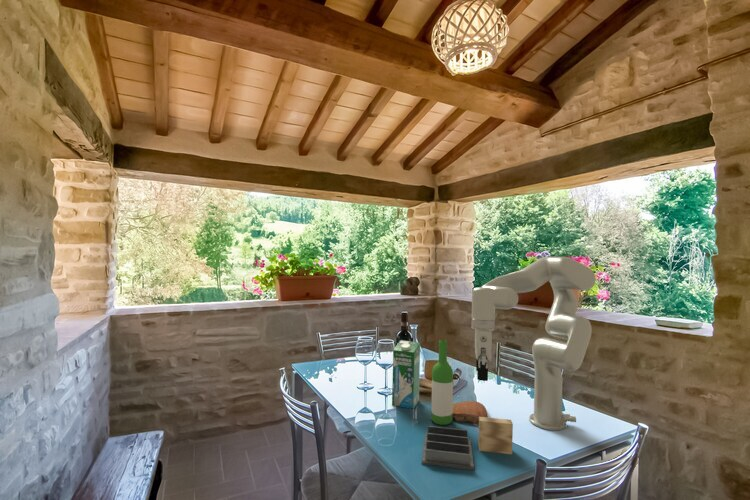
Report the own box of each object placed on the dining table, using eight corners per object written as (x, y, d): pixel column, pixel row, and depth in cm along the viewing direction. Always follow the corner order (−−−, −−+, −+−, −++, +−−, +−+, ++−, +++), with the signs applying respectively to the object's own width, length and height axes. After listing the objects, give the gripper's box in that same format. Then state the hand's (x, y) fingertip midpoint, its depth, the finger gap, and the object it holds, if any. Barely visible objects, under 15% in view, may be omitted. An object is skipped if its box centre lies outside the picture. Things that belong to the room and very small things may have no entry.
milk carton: (391, 405, 155) (393, 344, 155) (398, 397, 163) (400, 339, 163) (413, 409, 151) (414, 346, 152) (419, 401, 160) (420, 342, 160)
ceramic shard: (448, 393, 155) (485, 402, 152) (445, 409, 155) (483, 419, 152) (448, 402, 141) (490, 412, 138) (446, 420, 140) (487, 430, 137)
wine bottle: (456, 424, 138) (457, 342, 138) (436, 427, 136) (438, 343, 136) (446, 415, 145) (447, 338, 146) (427, 418, 143) (429, 339, 144)
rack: (470, 441, 126) (470, 429, 126) (473, 470, 109) (474, 456, 109) (424, 436, 128) (425, 424, 128) (421, 463, 112) (422, 450, 112)
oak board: (510, 449, 121) (511, 419, 121) (512, 454, 118) (512, 424, 118) (478, 445, 123) (479, 416, 123) (479, 450, 120) (479, 420, 120)
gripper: (497, 329, 117) (495, 385, 117) (492, 320, 134) (491, 369, 133) (472, 328, 119) (470, 382, 118) (470, 319, 135) (469, 367, 135)
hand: (481, 375), depth 126 cm, fingers open, 9 cm apart
